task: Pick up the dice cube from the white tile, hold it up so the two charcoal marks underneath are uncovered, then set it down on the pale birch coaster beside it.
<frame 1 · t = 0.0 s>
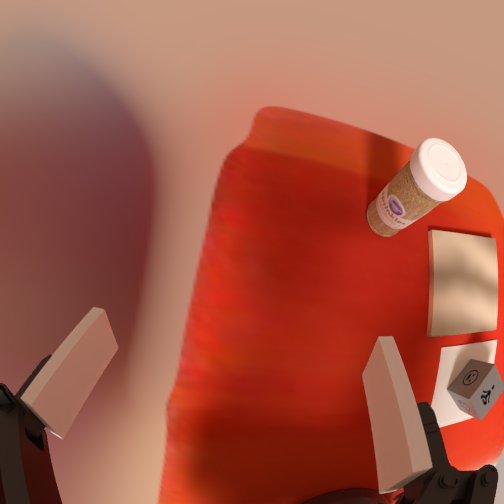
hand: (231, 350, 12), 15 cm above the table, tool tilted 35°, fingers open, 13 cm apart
dice cube: (465, 384, 23), resting on white tile
sprinkles bottle: (383, 219, 28), on the table
birch coaster: (465, 284, 25), on the table
white tile: (465, 384, 22), on the table
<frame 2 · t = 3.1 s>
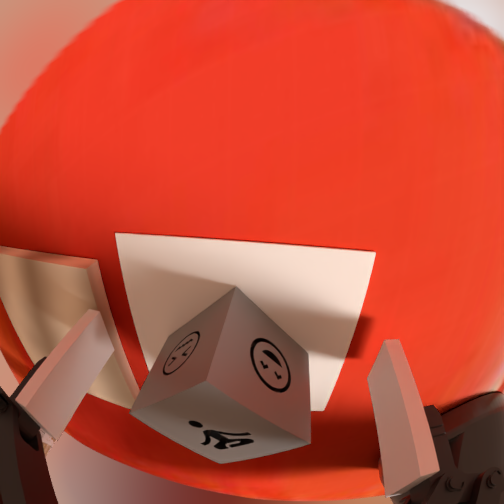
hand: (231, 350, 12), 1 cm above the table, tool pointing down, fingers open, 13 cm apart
dice cube: (236, 344, 13), resting on white tile
birch coaster: (57, 327, 15), on the table
white tile: (236, 345, 13), on the table
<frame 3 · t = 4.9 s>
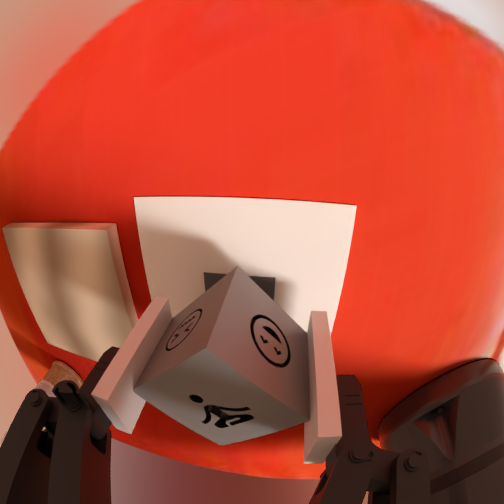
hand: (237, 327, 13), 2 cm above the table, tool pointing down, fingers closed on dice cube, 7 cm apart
dice cube: (238, 325, 13), point 2 cm above the table, touching gripper
sprinkles bottle: (69, 371, 23), on the table
birch coaster: (72, 296, 17), on the table
white tile: (239, 295, 15), on the table
when the fingers open (1 cm above the table, at t = 11.8 s): dice cube stays where it is, resting on birch coaster.
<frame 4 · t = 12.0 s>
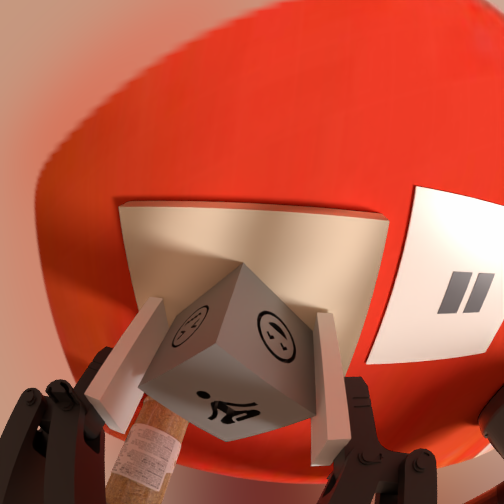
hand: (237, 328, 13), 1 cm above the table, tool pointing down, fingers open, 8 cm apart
dice cube: (243, 322, 14), point 1 cm above the table, touching birch coaster
sprinkles bottle: (169, 405, 20), on the table
birch coaster: (247, 314, 14), on the table
white tile: (467, 292, 12), on the table
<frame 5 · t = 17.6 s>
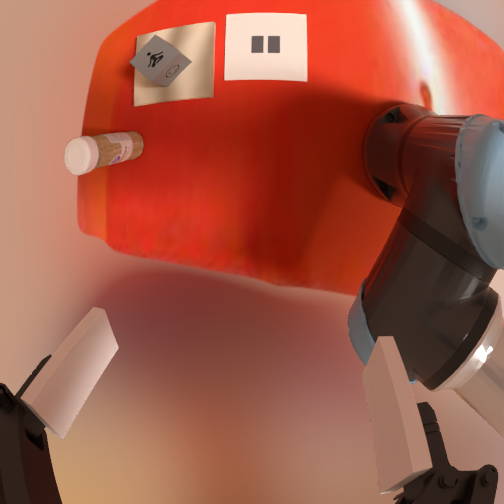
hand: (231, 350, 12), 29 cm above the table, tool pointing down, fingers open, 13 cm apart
dice cube: (169, 64, 30), point 1 cm above the table, touching birch coaster
sprinkles bottle: (133, 144, 36), on the table
birch coaster: (173, 63, 30), on the table
white tile: (265, 44, 28), on the table
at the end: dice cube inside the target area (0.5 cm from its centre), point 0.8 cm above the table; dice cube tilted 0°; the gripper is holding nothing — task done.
